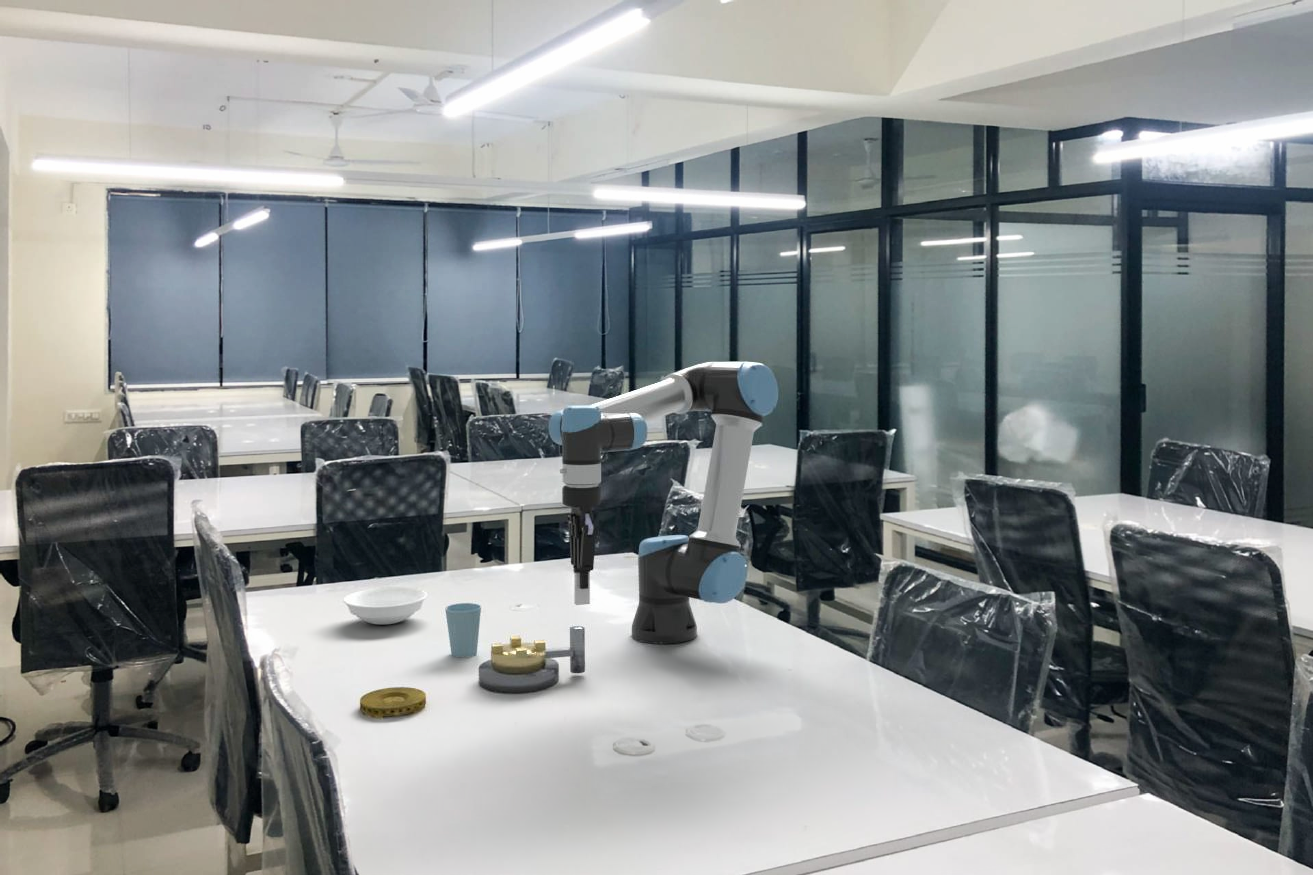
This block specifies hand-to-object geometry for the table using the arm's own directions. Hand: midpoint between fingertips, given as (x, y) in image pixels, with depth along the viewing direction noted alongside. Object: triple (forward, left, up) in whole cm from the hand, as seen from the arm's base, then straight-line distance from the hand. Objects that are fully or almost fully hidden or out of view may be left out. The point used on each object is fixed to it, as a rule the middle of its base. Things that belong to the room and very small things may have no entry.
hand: (582, 603), depth 212 cm
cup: (+21, -29, -17) cm, 39 cm away
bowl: (+37, -61, -17) cm, 73 cm away
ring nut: (+8, -7, -16) cm, 19 cm away
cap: (+12, -7, -17) cm, 21 cm away
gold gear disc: (+37, +2, -17) cm, 41 cm away
